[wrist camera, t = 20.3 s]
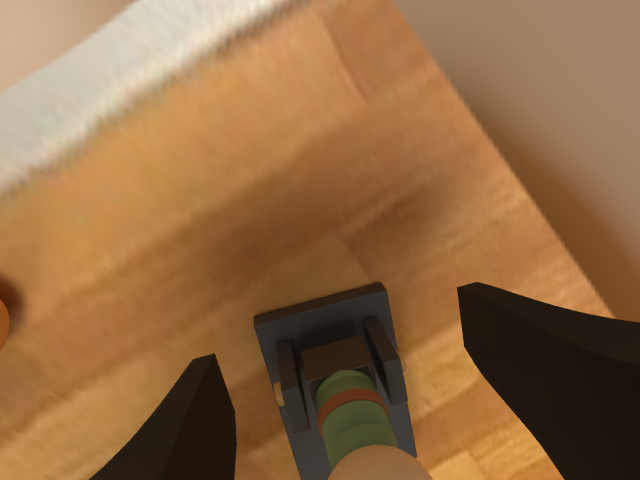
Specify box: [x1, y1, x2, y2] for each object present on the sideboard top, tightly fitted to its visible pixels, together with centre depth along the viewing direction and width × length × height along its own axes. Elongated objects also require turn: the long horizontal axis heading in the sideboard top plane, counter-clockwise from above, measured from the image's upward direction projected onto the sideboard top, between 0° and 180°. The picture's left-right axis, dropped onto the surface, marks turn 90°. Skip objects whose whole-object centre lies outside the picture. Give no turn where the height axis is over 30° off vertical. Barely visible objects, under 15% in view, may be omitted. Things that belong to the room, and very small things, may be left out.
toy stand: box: [254, 283, 417, 480], centre depth 24 cm, size 12×7×5 cm, turn 12°
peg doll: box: [301, 335, 433, 480], centre depth 18 cm, size 4×4×10 cm
